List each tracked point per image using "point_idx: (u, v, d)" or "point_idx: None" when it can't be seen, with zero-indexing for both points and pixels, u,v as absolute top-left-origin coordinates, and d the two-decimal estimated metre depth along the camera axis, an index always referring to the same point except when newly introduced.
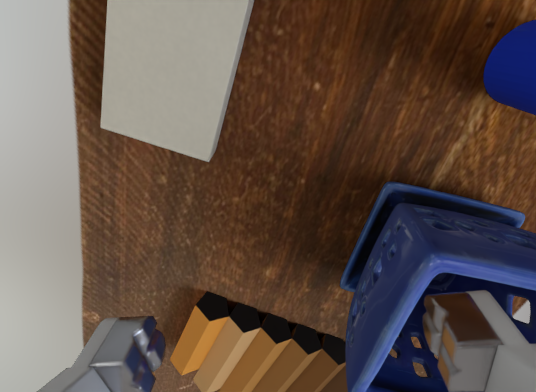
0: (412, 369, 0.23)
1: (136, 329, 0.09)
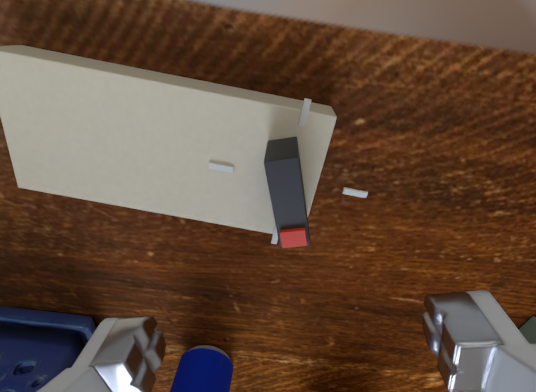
0: None
1: (136, 329, 0.09)
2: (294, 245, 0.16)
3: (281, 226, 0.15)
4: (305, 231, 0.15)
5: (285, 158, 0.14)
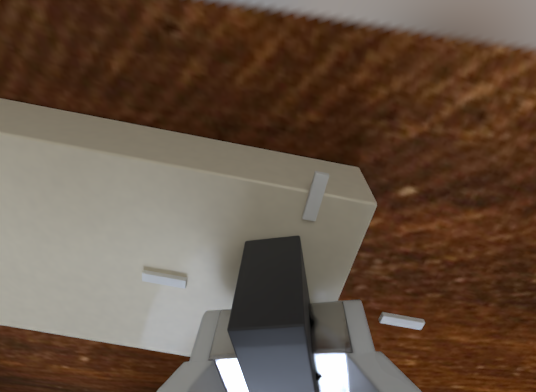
0: None
1: None
2: None
3: None
4: None
5: (276, 325, 0.06)
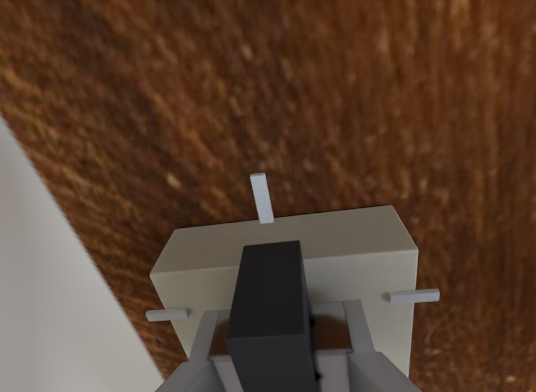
0: None
1: None
2: None
3: None
4: None
5: (275, 335, 0.06)
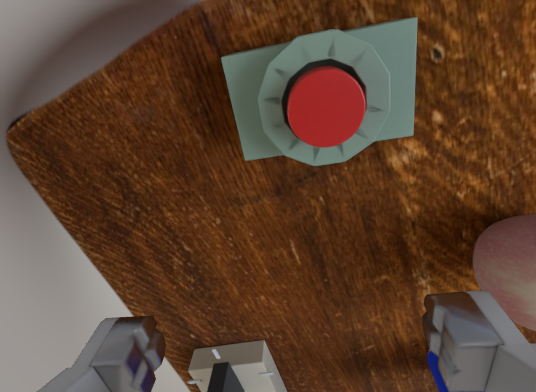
0: None
1: (136, 329, 0.09)
2: None
3: None
4: None
5: None
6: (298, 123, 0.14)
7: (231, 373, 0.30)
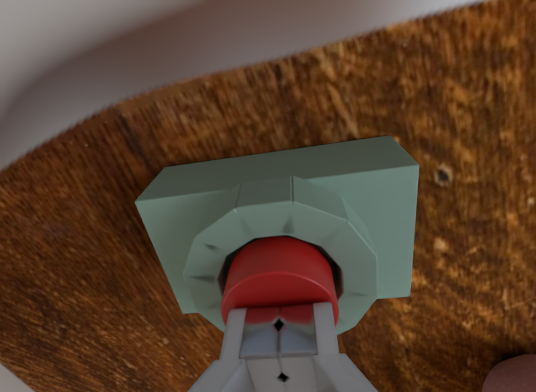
0: None
1: (275, 320, 0.08)
2: None
3: None
4: None
5: None
6: None
7: None
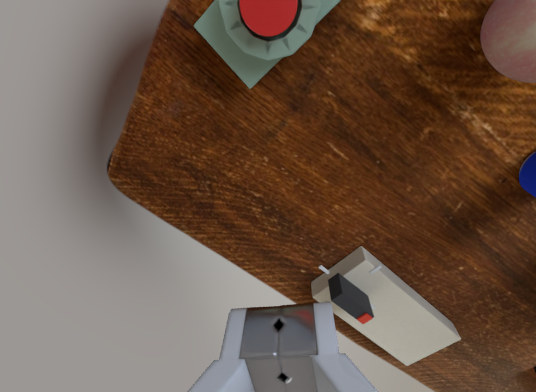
0: None
1: (275, 320, 0.08)
2: (367, 321, 0.32)
3: (356, 316, 0.33)
4: (367, 314, 0.32)
5: (338, 295, 0.31)
6: (256, 25, 0.19)
7: (345, 280, 0.33)
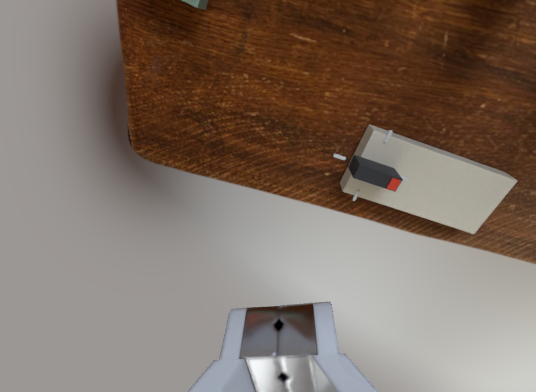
0: None
1: (275, 320, 0.08)
2: (397, 185, 0.32)
3: (385, 186, 0.33)
4: (393, 178, 0.32)
5: (357, 169, 0.32)
6: None
7: (363, 159, 0.34)
